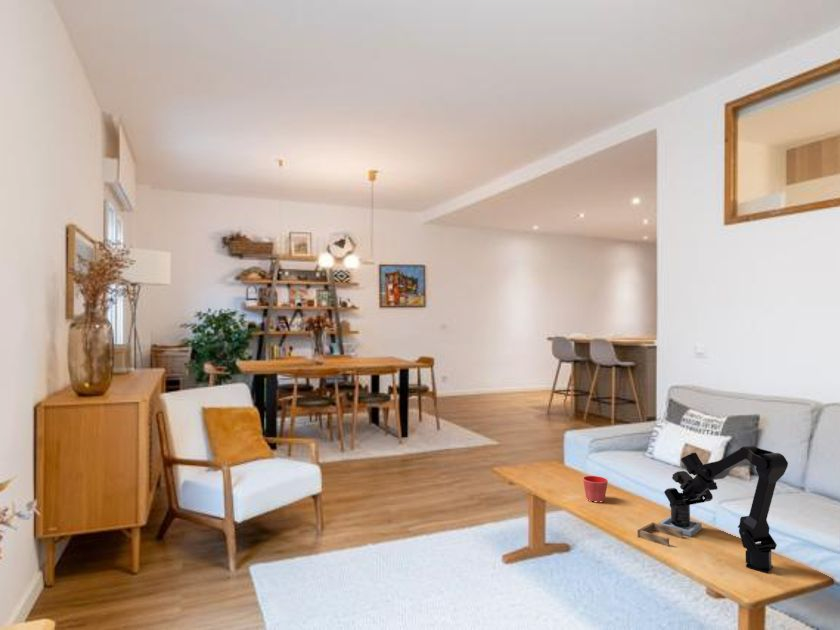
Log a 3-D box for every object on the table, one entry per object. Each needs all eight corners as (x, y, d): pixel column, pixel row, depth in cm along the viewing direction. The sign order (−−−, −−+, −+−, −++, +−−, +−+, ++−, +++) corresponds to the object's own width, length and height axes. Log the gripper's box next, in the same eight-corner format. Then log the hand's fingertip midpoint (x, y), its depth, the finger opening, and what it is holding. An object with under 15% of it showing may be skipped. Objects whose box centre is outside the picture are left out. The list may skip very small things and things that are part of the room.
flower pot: (602, 496, 251) (602, 475, 251) (611, 504, 240) (611, 482, 240) (580, 496, 251) (579, 475, 251) (588, 504, 240) (587, 482, 240)
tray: (701, 528, 211) (701, 523, 211) (690, 537, 203) (690, 531, 203) (670, 520, 220) (670, 515, 220) (658, 528, 211) (658, 523, 211)
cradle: (682, 537, 203) (682, 530, 203) (667, 546, 195) (667, 539, 195) (652, 528, 211) (652, 522, 211) (637, 536, 204) (637, 530, 204)
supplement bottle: (668, 521, 215) (667, 491, 215) (685, 521, 214) (684, 491, 215) (675, 527, 208) (674, 496, 208) (693, 528, 208) (692, 496, 208)
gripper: (706, 464, 211) (685, 484, 221) (667, 468, 205) (647, 489, 215) (723, 490, 203) (700, 510, 213) (683, 495, 197) (662, 515, 208)
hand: (677, 505), depth 213 cm, fingers closed on supplement bottle, 6 cm apart
